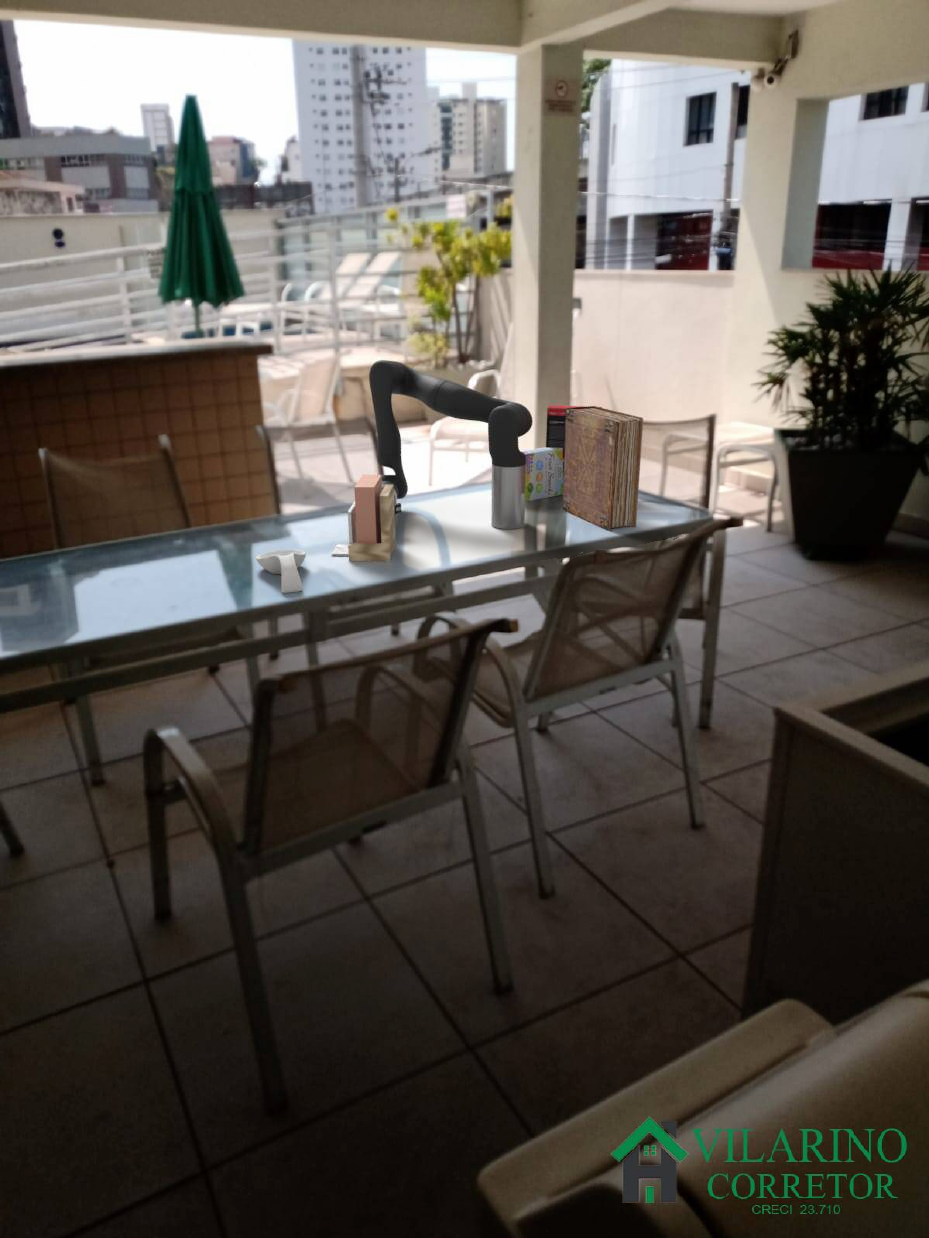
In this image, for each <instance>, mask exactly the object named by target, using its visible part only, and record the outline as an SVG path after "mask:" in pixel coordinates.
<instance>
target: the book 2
mask: <svg viewBox="0 0 929 1238" xmlns="http://www.w3.org/2000/svg"><path fill="white" fill-rule="evenodd" d="M600 407H601V406H595V405H593V406H592V405H591V406H589V405H588V406H587V407H575V408H567V409H566V420H565V453H564V486H563V495H562V496H563V497H562V511H564V512H567V513H569V514H571V515H573V516H575V517H577V518H580V519H581V520H584V521H586V522H588V523H590V524H592V525H594V526H596V527H598V528H601V529H603V530H605V531H607V532H608V531H610V530H611V529H614V528H622V527H629V526H631V527H634V528H636V526H637V521H638V520H637V519H638V518H637V516H638V506H639V505H638V502H639V488H640V473H641V471H640V470H641V458H642V445H643V432H644V431H643V429H644V428H643V427H644V417H641V416H638V415H637V416H636V415H633V414H629V413H624V412H621V411H616V410H612V409H608V408H603V407H602V408H600Z"/></svg>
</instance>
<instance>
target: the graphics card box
mask: <svg viewBox="0 0 929 1238" xmlns="http://www.w3.org/2000/svg"><path fill="white" fill-rule="evenodd" d="M575 407H588V406H587V405H584V406H582V405H581V406H580V405H578V406H577V405H548V407H547V409H546V433H545V434H546V435H545V447H546V448H549V447H552V448H563V476H564V453H565V420H566V409H567V408H575ZM599 407H600V408H603V407H602V406H599Z"/></svg>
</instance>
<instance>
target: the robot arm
mask: <svg viewBox="0 0 929 1238" xmlns="http://www.w3.org/2000/svg"><path fill="white" fill-rule="evenodd" d="M368 373H369V374H368V380H369V389H370V394H371V400H372V405H373V413H374V418H375V426H376V439H377V440H376V442H377V443H376V444H377V445H376V447H377V464H378V465H379V466H380V467H385V468H389V469H391V470H392V471H393V472H394V474H381V475H382V490H383V489H384V487H385V485H394V514H395V515H398V514H402V503H401V502H398V503H397V501H398V499H399V500H400V499H401V500H402V499H404V498H405V497H406V495H407V494H408V492H409V491H408V490H409V487H408V482H407V478H406V475H405V472H404V467H403V462H402V461H403V460H402V437H401V436H402V435H401V433H400V429H399V426H398V423H397V420H396V418H395V415H394V414H395V413H394V411H393V404H392V399H393V397H392V395H400V396H401V395H402V396H406V397H409V398H414V399H417V400H418V401H420V402H422V403H423V404H424V405H425V406H427V407H428V409H431V410H432V411H434V412H436V413H438V414H441V415H444V416H448V417H450V418H453V419H458V420H464V421H465V420H466V421H472V422H473V421H475V422H481V423H485V424H486V423H487V432H488V433H487V435H488V436H487V437H488V438H487V439H488V440H487V441H488V451H489V455H490V458H491V517H490V519H491V526H492V527H494V528H498V529H505V530H514V529H521V528H525V525H526V524H525V523H526V522H525V521H526V520H525V517H526V516H525V514H526V502H525V463H526V457H525V454H524V453H523V452H521V451H522V450H520V449H519V448H520V447H519V438H520V437H522V436H524V435H526V434H528V432H529V431H530V430H531V428H532V426H533V416H532V413H531V412H530V410H529V409H528V408H527V407H526V406H524V405H523V404H522V403H518V402H515V401H511V400H510V401H509V400H506V399H500V398H497V397H492V396H489V395H487V394H485V393H483V392H480V391H477V390H475V389H473V388H469V387H467V386H465V385H462V384H460V383H457V382H454V381H451V380H448V379H444V378H441V377H438V376H432V375H427V374H424V373H422V372H419V371H418V370H416V369H414V368H413V367H412V368H411V367H410V366H408V365H406V364H404V363H402V362H399V361H394V360H386V359H385V360H384V359H379V360H377V361H375V362H373V364H372V365H371V367H370V369H369V372H368Z"/></svg>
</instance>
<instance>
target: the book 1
mask: <svg viewBox="0 0 929 1238" xmlns="http://www.w3.org/2000/svg"><path fill="white" fill-rule="evenodd" d="M382 475H383V474H362V475H361V477H360V478H359V480H358V481H357V482H356V484H355V486H354V501H355V509H356V529H357V543H382V542H381V517H380V494H381V492H382Z"/></svg>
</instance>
